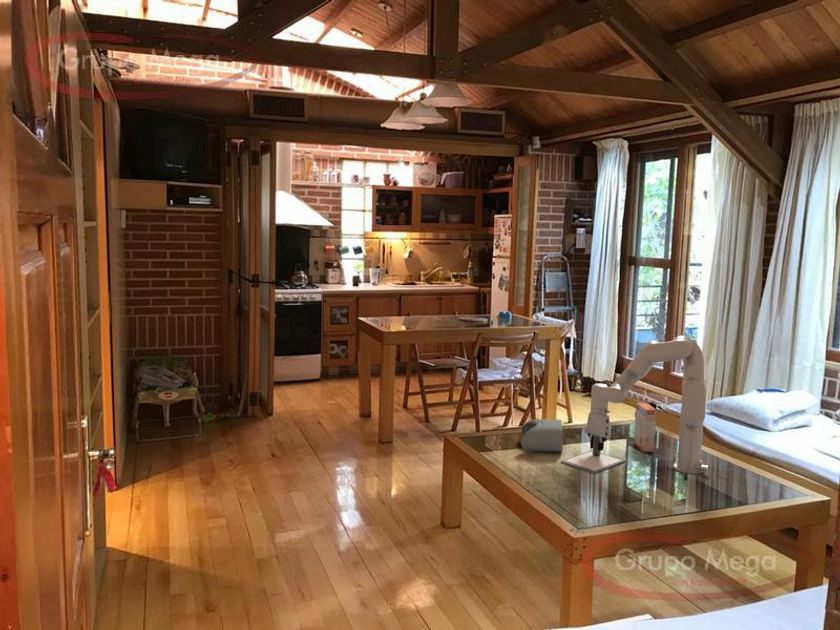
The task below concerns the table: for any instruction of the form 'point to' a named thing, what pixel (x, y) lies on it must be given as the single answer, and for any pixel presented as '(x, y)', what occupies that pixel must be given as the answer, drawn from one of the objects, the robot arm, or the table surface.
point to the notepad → (592, 462)
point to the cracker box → (645, 427)
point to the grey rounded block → (542, 435)
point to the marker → (595, 445)
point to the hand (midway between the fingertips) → (596, 448)
